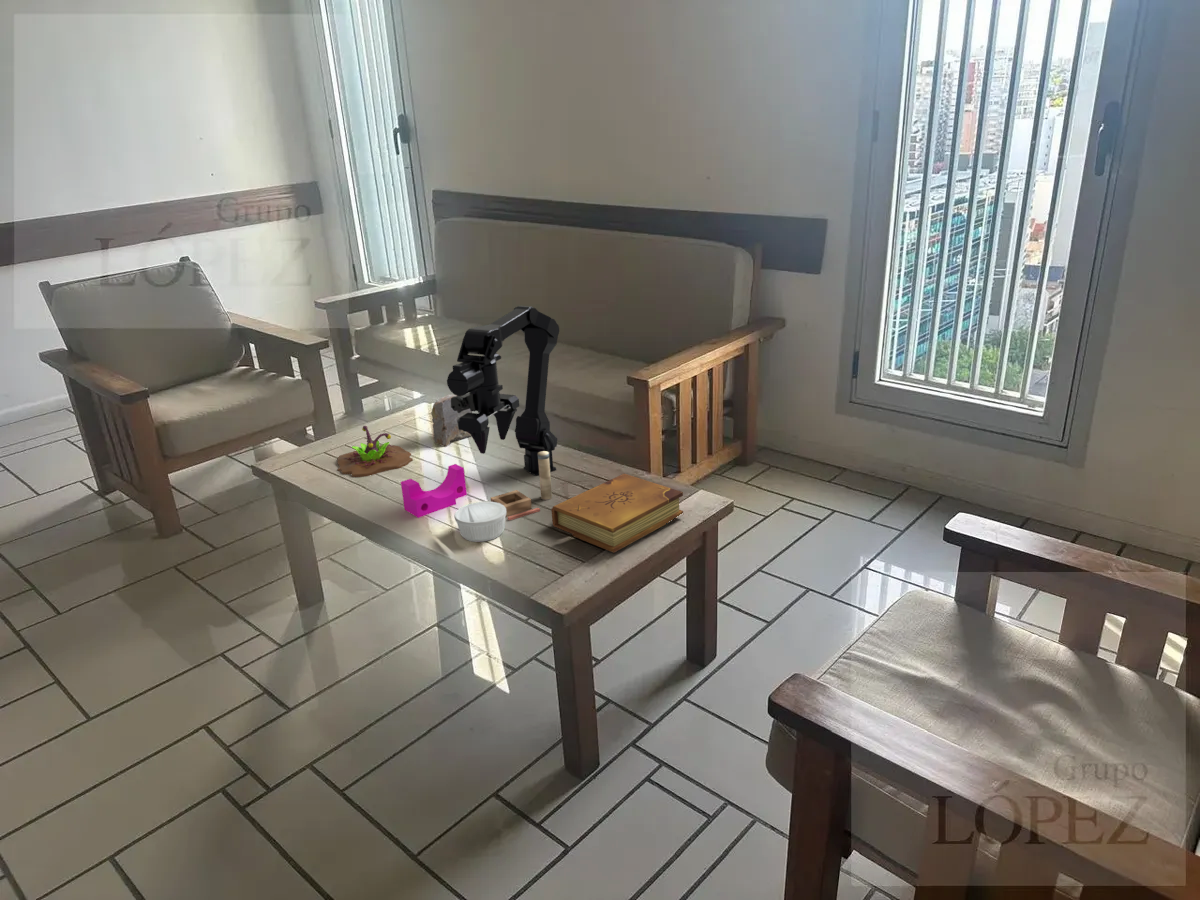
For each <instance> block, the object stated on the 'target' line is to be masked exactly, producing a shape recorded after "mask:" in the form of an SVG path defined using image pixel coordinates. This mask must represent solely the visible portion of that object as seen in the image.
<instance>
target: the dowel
mask: <svg viewBox="0 0 1200 900" xmlns="http://www.w3.org/2000/svg"><path fill="white" fill-rule="evenodd" d="M538 464H539V475H538V476H539V487H540V489H539V490H540V499H541V500H542V501H549V500H551V499H552V498H553V493H552V480H551V472H550V464H549V452H547V451H541V452H538Z"/></svg>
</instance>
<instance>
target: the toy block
mask: <svg viewBox="0 0 1200 900" xmlns="http://www.w3.org/2000/svg"><path fill="white" fill-rule="evenodd" d="M465 475H466V474H465V468H464V467H462V466H461V465H459V464H457V463H454V464H451V465H448V466H447V473H446V476H445V478H444V480H443V481H442V483H440V484H439V485H438V486H437V487H436V488H433V489H431V490H423V488H422V487H421V485H420V483H419V482H418V481H417V480H415V479H412V478H408V479H405V480H402V481H400V487H401V494H402V501H403V509H404V510H405V511H407V512H408V513H409V512H410V513H409V514H411V515H413V516H414V517H416V518H418V519H419V518H422V517H424V516H427V515H430V514H433V513H436V512H438V511H441V510H444V509H446V508H449V507H453V506H456V505H457V499H460V498H463V497H465V496H468V493H467V483H466V477H465Z"/></svg>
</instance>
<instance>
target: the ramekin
mask: <svg viewBox="0 0 1200 900" xmlns="http://www.w3.org/2000/svg"><path fill="white" fill-rule="evenodd" d="M505 516H506V508H505V506H503V505H502V504H500V503H497V502H491V501H477V502H471V503H469V504H466V505H464V506H461V507H460V508H458V509H457V510H456V511H455V513H454V521H455V522H456V524H457V527H458V531H459V533H460V535H461V537H462V538H463V539H465V540H466V541H469V542H473V543H475V542H477V543H479V542H487V541H492V540H494V539H496V538H499V537H500V536H501V535H502V534H503V532H504V531H505V527H506V517H505Z"/></svg>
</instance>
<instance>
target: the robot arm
mask: <svg viewBox="0 0 1200 900" xmlns="http://www.w3.org/2000/svg"><path fill="white" fill-rule="evenodd" d="M519 331H521V332H522V333H523V334H524V335H523V341H524V344H525V346H526V348H527V350H528V352H529V356H528V358H529V359H528V368H527V381H526V382H527V383H526V393H525V406H524V411H523V412H522V413H521V415H519V416H517V417H515V418H516V419H515V429H514V434H515V439H516V440H517V444H518V447H519V449H524V453H525V454H524V455H523V459H524V463H523V464H524V466H523V469H524V470H525V471H527V472H528V473H530V474H532V475H533V476H536V477H537V476H539V464H538V452H541V451H547V452H549V464H550V473H552V472H553V471H557V467H556V466H554V463H553V462H554V460H553V459H554V458H553V451H555V449H556V448H557V447H558V438H557V436H556V435H554V434H553V432H552V431H551V422H550V420H549V417H548V416H547V413H546V412H545V411H546V410H545V409H546V398H547V396H546V395H547V386H548V385H547V384H548V377H549V376H548V373H549V364H550V363H549V362H550V354H551V353H552V351H553V350H554V349H555V347H556V345H557V343H558V338H559V334H560V326H559V324H558V323H557V321H556V320H555V319H554V318H553V317H551V316H549V315H546V314H545V313H542V312H540V310H538V309H537V308H535V307H534V306H529V305H528V306H527V305H526V306H525V305H517V306H515V307H514V308H513V309H512V310H511V311H510V312H508V313H506V314H505V315H503V316H501V317H500V318H498V319H496V320H495V321H493V322H491V323H490V324H485V325H477V326H474V327H471V328H468V329H467V330H466V331H465V332H464V336H463V339H462V343H461V345H460V350H459V352H458V355H457V359H456V361H457V362H458V363H456V364H454V365H452V371H450V372H449V374H448V375H447V379H446V384H447V387H448V389H449V391H450V392H451V393H452V394H455V395H457V396H454V397H453V398H451V408H452V409H453V410H454V411H457V412H458V413H461V412H462V411H464V410H467V409H470V411H472V413H466V414H465V415H463V416H462V417H460V418H459V419H458V420H457V425H458V429H459V430H463V431H465V432H468V433H469V434H470V435H471V436H472V437H471V438H472V439H473V441H474V443H475V445H476V447H477V450H478V451H479V453H480V454H483V455H484V454H486V450H487V447H488V439H489V435H490V426H489V424H490V422H489V418H490V417H491V416H494V417H495V421H496V426H497V431H498V435H499V440H501V441H502V440H503V441H504V440H506V437H507V434H508V432H509V429H510V427H511V424H512V422H513V419H514V416H515V415H516V412H517V411H518V409H517V408H519V407H520V398H518V396H517V395H516V394H510V393H509V394H508V393H507V394H505V393H500V392H501V391H502V390H503V389H504V388H503V384H499V376H498V365H497V361H499V360H501V359H502V356H501V355H500V354H498V353H497V352H498V351H500V350H501V348H502V347H503V342H504V341H505V340H506V339H508V338H509V337H511V336H513V335H514V334H516V333H517V332H519ZM474 412H475V413H474ZM476 412H477V413H476Z"/></svg>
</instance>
